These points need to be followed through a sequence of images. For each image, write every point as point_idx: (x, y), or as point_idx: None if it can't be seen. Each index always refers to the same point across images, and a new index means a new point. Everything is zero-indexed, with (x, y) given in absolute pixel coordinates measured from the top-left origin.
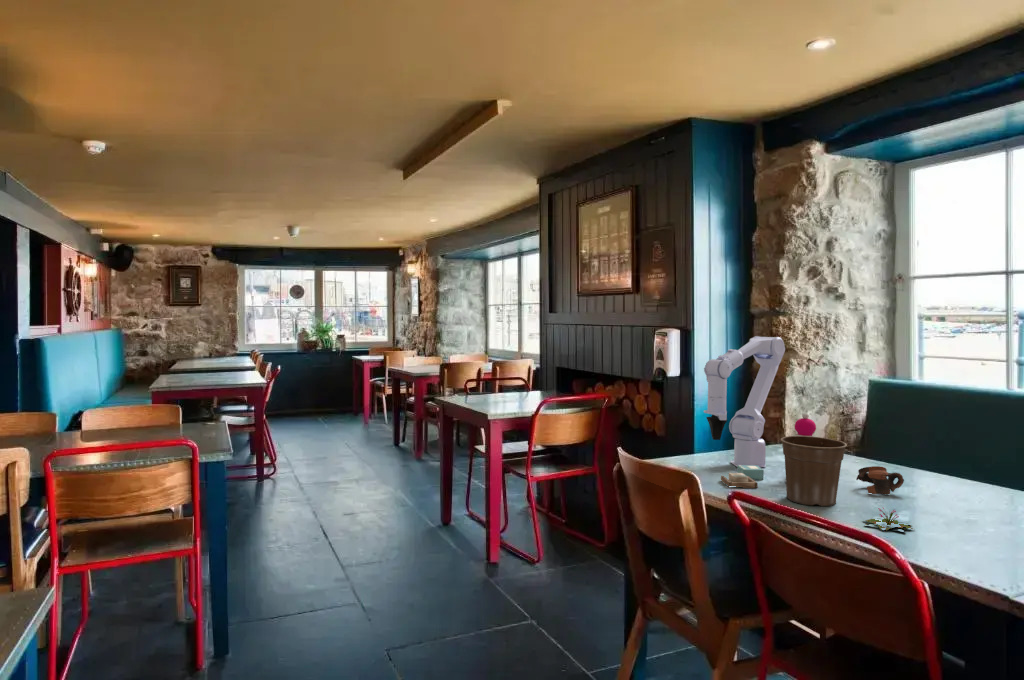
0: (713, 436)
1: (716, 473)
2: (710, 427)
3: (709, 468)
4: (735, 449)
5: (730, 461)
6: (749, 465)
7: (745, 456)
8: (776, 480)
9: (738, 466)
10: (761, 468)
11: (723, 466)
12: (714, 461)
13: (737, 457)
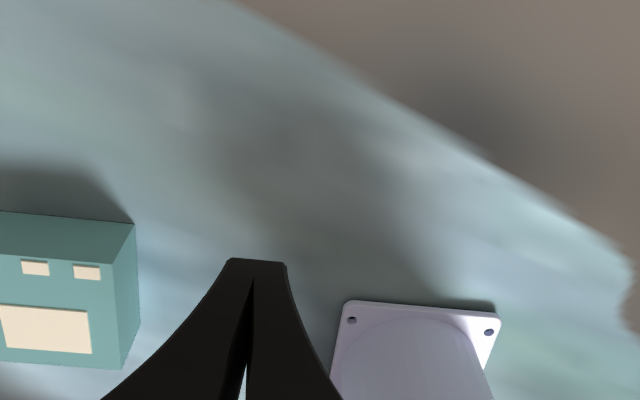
0: (217, 281)
1: (173, 101)
2: (291, 363)
3: (347, 114)
4: (433, 395)
5: (487, 315)
6: (115, 331)
7: (353, 396)
8: (16, 364)
9: (88, 259)
10: (25, 362)
11: (396, 233)
12: (560, 234)
13: (396, 355)
